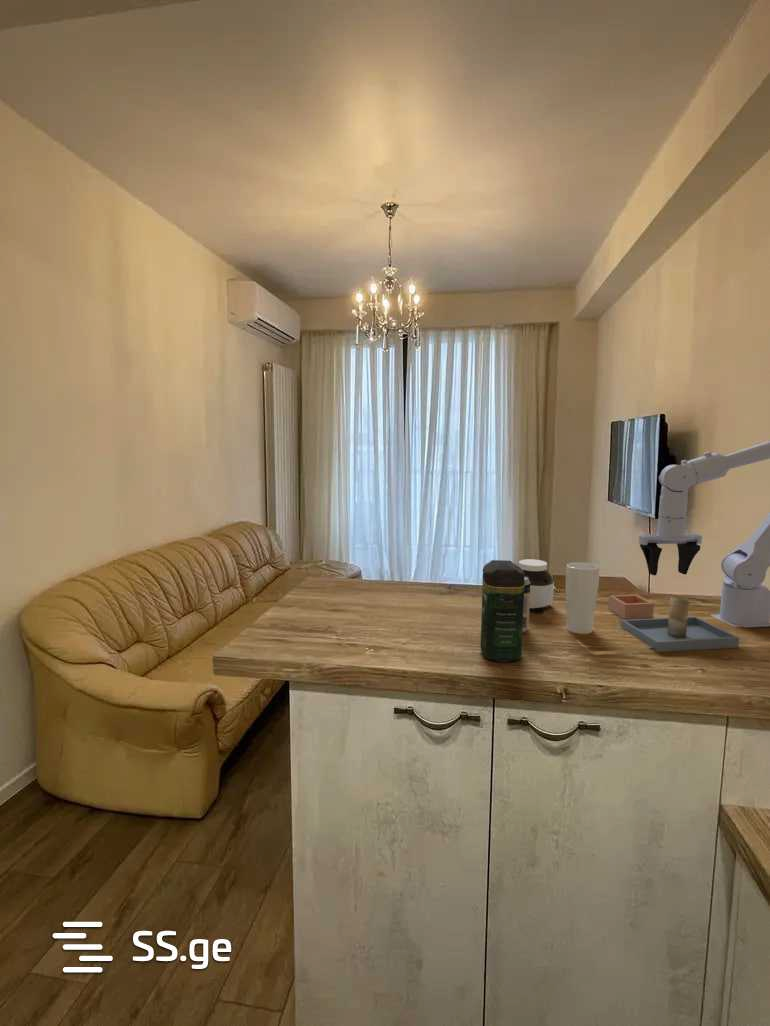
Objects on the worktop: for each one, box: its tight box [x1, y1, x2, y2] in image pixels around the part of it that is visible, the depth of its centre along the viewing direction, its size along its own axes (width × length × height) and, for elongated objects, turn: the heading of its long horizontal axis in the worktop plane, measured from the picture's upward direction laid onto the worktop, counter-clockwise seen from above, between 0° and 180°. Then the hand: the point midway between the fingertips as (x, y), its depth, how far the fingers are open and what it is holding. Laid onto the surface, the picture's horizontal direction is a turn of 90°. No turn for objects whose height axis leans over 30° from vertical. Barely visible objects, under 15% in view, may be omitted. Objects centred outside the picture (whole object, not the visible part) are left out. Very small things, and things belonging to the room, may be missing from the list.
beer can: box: [522, 576, 531, 634], centre depth 121 cm, size 5×5×12 cm
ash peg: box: [668, 595, 690, 638], centre depth 117 cm, size 4×4×8 cm
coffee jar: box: [480, 559, 525, 663], centre depth 108 cm, size 10×8×19 cm
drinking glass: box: [565, 561, 600, 635], centre depth 120 cm, size 7×7×15 cm
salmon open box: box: [607, 594, 655, 620], centre depth 131 cm, size 7×7×4 cm
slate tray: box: [620, 615, 740, 653], centre depth 117 cm, size 18×13×2 cm
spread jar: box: [518, 558, 555, 613], centre depth 136 cm, size 12×11×12 cm
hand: (667, 573), depth 129 cm, fingers open, 7 cm apart
